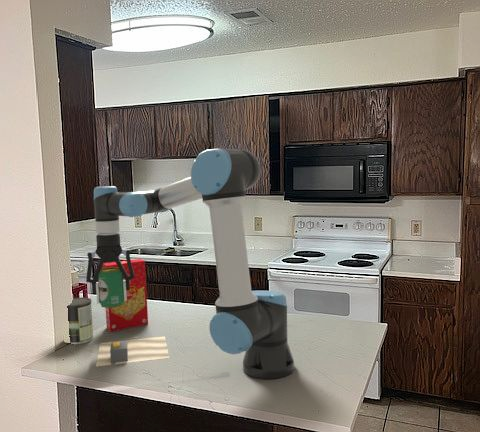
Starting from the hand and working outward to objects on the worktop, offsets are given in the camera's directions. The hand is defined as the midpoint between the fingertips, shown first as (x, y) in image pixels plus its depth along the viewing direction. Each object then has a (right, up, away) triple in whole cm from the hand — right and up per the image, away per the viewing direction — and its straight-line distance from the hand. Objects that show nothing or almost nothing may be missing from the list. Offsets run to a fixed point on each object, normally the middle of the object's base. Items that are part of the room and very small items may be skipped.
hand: (112, 301), depth 160 cm
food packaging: (-1, -14, +26) cm, 30 cm away
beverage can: (0, -1, 0) cm, 1 cm away
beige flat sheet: (+8, -17, -3) cm, 19 cm away
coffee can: (-15, -16, +12) cm, 25 cm away
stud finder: (+5, -16, -9) cm, 19 cm away
